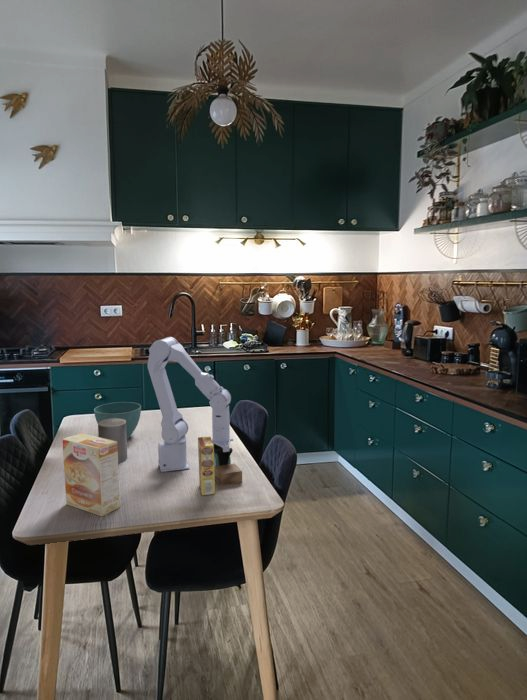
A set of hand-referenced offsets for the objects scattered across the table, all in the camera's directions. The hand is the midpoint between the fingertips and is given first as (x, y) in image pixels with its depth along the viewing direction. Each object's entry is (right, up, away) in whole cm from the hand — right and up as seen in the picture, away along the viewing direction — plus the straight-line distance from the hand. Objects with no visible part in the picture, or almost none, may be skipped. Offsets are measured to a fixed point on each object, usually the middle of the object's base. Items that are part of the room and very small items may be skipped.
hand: (221, 465), depth 172 cm
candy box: (-3, -4, -15) cm, 16 cm away
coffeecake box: (-34, -6, -27) cm, 44 cm away
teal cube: (0, -1, 0) cm, 1 cm away
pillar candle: (-39, 0, +10) cm, 41 cm away
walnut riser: (+3, -3, -8) cm, 9 cm away
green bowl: (-44, +3, +36) cm, 57 cm away
